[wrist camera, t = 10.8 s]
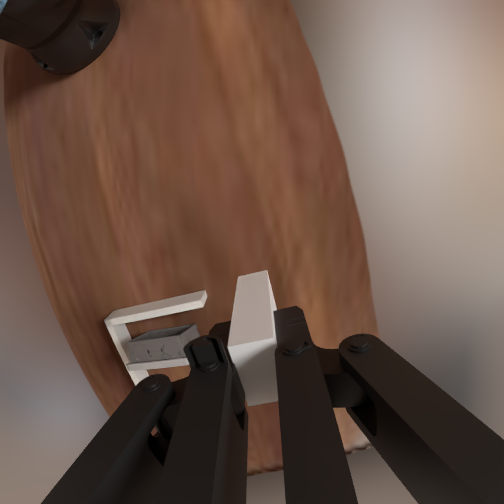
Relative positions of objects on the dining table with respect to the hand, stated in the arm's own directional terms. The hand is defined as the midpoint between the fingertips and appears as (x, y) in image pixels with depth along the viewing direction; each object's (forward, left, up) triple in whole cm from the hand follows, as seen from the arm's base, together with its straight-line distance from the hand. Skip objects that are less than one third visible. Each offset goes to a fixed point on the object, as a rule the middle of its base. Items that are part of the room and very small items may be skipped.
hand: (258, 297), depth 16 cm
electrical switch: (+12, -16, -25) cm, 32 cm away
